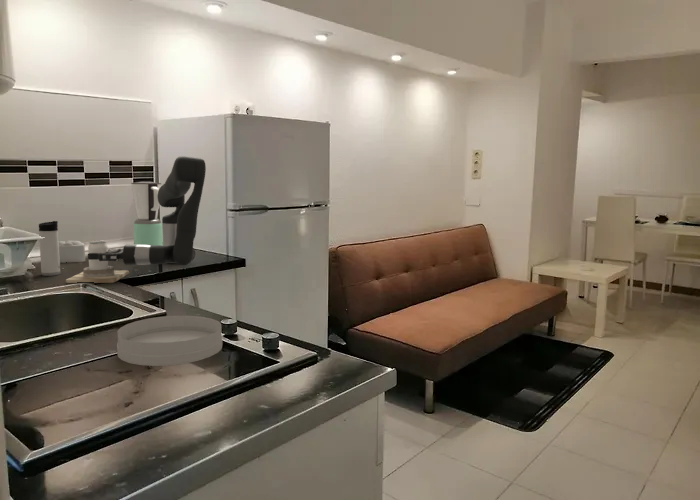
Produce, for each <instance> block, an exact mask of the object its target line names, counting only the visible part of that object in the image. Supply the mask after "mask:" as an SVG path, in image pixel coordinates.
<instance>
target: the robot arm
mask: <svg viewBox="0 0 700 500" xmlns="http://www.w3.org/2000/svg"><path fill="white" fill-rule="evenodd" d="M206 169H207V168H206V162H205V160H204V159H203V158H201V157H193V156H183V155H181V156H177V157H176V158H175V160H174V161H173V166H172V168H171V172H170V174H169V175H168V176H167V178H166V179H165V181H164V182H165V183H163V184H161V187H160V189H159V191H158V202H159V204H160V207H161V208H175V210H174V211H172V212H171V213H168V214H167V215H166V214H165V215H164V216H162V219H161V223H162V239H163V246H162V245H134V244H125V245H124V246H123V248H111V249H110V248H108V251H106V252H105V253H89V254H88V253H87V259H88V261H89V260H99V261H108V262H117V261H120V260H123V264H124V265H125V266H143V265H144V266H147V265H164V264H177V265H179V266H186V265H188V264H190V263H192V262H193V261H194V259H195V258H196V250H195V249H194V240H195V238H196V234H197V224H198V214H199V208H200V203H201V200H202V199H201V198H202V195H203V188H204V184H205V179H206ZM192 183H193V185H194V186H193V189H192V193H191V194H190V195H189V197H188V199H187V200H186V202H185V198H186V197H185V195H186V194H187V193H188V191H189V190H190V189H191V186H192ZM103 255H105V258H103Z"/></svg>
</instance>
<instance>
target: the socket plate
mask: <svg viewBox="0 0 700 500" xmlns="http://www.w3.org/2000/svg"><path fill="white" fill-rule="evenodd" d="M108 266H109V269H104V270H89V266H86V267H84V268H82V270H83V271H81V272H80V273H77V274H75V275H73V276H71V277H69V278H66V279H65V283H66V284H78V283H77V282H94V283H93V284H95V283H96V284H103V283H104V284H105V283H106V284H107V283H109V284H113V283H116V282H117V281H119V280H120V279H123V278H124V277H126V276H128V275H129V274H130V270H115V267H114V266H113V265H108Z"/></svg>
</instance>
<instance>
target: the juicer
mask: <svg viewBox="0 0 700 500" xmlns="http://www.w3.org/2000/svg"><path fill="white" fill-rule="evenodd" d="M130 183H131V191H132V196H133V201H134V207H135V211H136V216H137V219H135V220H134V222H133V245H162V246H163V229H162V220H160V219H159V218H158V216H159V209H160V207H161V205H160V204H159V202H158V191H159V189H160V187H161V186H162V183H161V182H154V181H150V180H142V181H136V182H130Z"/></svg>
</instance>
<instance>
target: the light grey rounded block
mask: <svg viewBox="0 0 700 500" xmlns="http://www.w3.org/2000/svg"><path fill="white" fill-rule="evenodd" d="M85 245H86V244H85V243H84V242H81V241H80V240H69V239H68V240H65V241H64V240H60V241H59V257H60V264H61V263H62V264H64V263H65V264H67V263H80V262H81V263H82V262H86V250H85V247H86V246H85ZM66 262H67V263H66Z"/></svg>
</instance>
